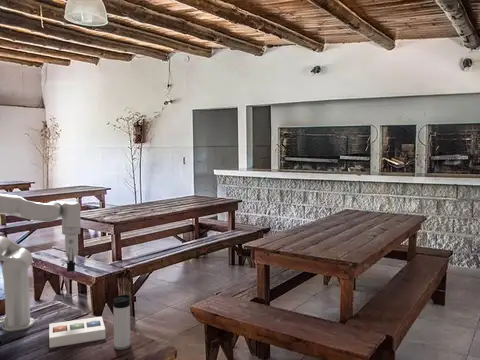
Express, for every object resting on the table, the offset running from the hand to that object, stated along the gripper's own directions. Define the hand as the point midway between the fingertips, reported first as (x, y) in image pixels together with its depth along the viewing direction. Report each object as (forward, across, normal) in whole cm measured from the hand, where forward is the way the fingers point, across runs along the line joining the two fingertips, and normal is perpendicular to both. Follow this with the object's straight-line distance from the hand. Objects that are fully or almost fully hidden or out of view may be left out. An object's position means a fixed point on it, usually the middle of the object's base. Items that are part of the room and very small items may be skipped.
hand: (70, 270), depth 194 cm
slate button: (+22, -16, -9) cm, 29 cm away
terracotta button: (+23, -17, +4) cm, 28 cm away
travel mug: (+22, -32, -20) cm, 44 cm away
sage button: (+22, -16, -3) cm, 28 cm away
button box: (+23, -16, -3) cm, 28 cm away
